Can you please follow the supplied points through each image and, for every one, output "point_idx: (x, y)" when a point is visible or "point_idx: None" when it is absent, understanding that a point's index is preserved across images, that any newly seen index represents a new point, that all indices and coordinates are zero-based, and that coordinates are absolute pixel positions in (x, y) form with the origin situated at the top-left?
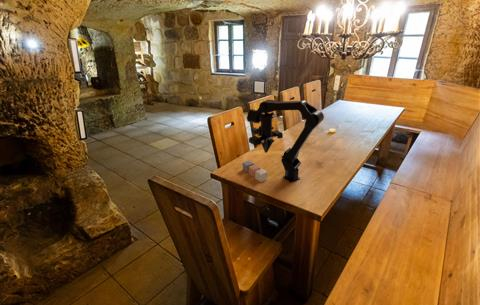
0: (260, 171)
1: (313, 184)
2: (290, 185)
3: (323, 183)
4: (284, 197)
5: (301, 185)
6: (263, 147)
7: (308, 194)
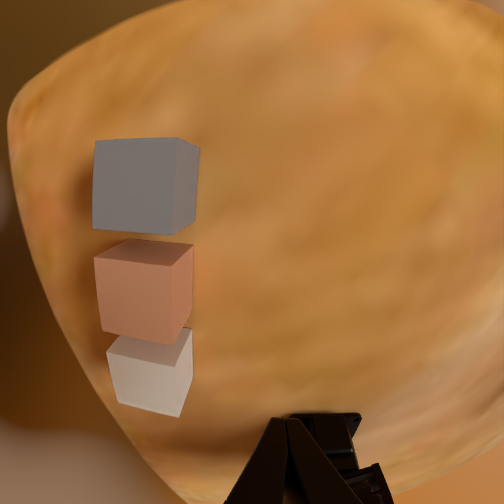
0: (138, 382)
1: None
2: None
3: None
4: (171, 472)
5: None
6: (229, 499)
7: None
